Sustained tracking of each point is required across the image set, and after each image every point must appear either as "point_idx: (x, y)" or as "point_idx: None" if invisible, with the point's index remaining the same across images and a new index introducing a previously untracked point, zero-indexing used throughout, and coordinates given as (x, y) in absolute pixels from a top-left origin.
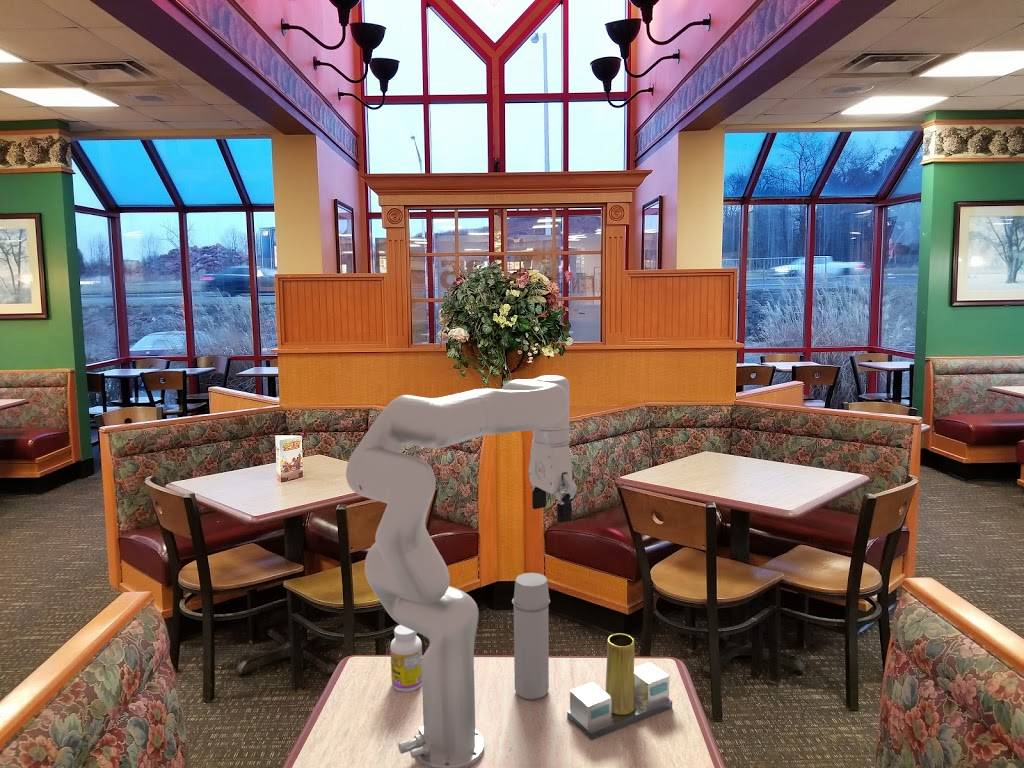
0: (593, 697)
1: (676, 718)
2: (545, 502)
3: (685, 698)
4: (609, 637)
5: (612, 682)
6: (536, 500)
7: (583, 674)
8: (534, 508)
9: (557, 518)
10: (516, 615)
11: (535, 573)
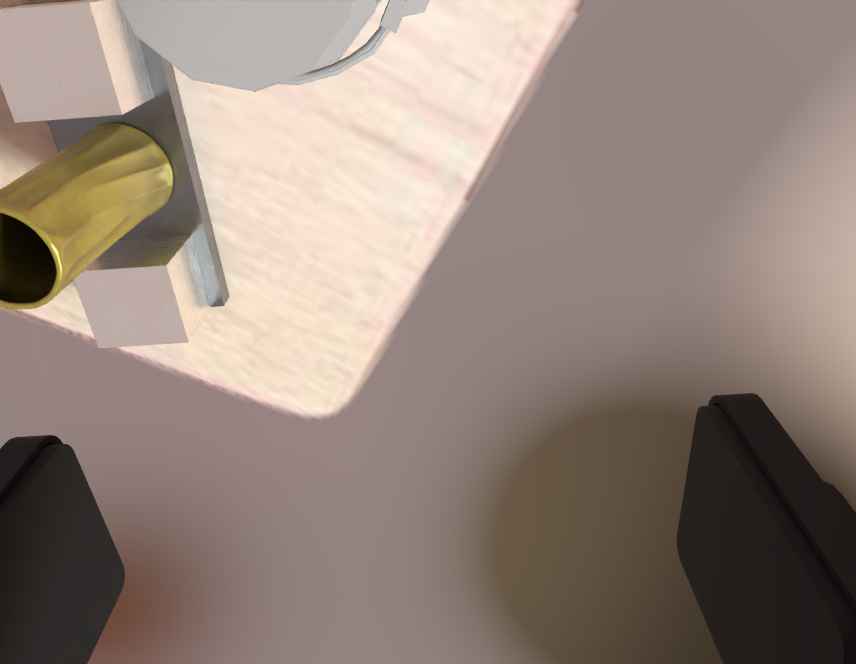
0: (24, 62)
1: (75, 286)
2: (700, 593)
3: (154, 354)
4: (34, 230)
5: (50, 159)
6: (749, 524)
7: (363, 173)
8: (715, 405)
9: (3, 468)
10: None
11: (322, 44)
